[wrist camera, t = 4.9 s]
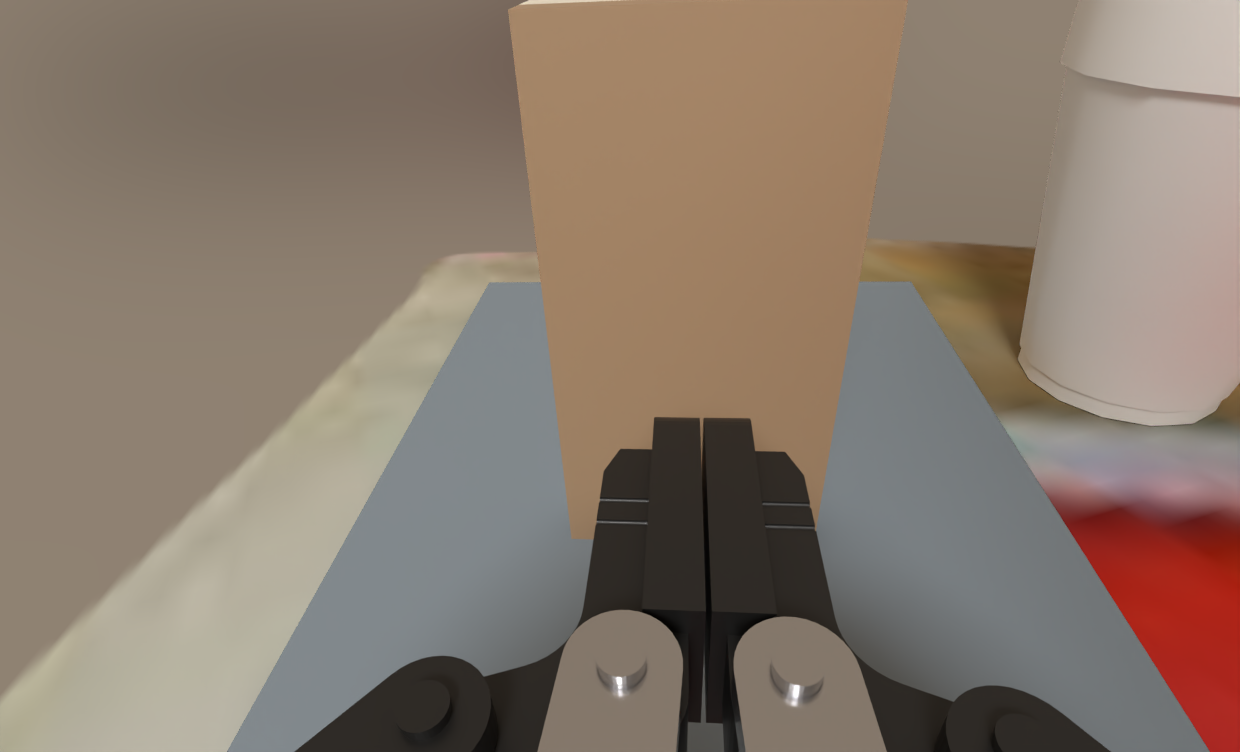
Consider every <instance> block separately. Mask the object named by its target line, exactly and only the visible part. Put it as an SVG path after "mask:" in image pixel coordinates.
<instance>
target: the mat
mask: <svg viewBox="0 0 1240 752" xmlns="http://www.w3.org/2000/svg"><path fill="white" fill-rule="evenodd" d="M816 532H817V537H818V541H819V546H820V551H821V555H822V560H823V564H824V569H825V574H826V578H827V583H828V587H829V592H830V597H831V601H832V606H833V610H834V615H835V619H836V622H837V625H838V628H839V630H840V632H841V634H842V636H843V638H844V640H845V641H846V642H847V644H848V645H849V647H850V648H851V649H852V650H853V651H854V653H855V654H856V655H857V656H858V657H859V658H860V659H862V660H863V661H864V662H865V663H866V664H867V665H869V666H870V667H871V668H873V669H874V670H876V671H877V672H879V673H880V674H882V675H884V676H886V677H888V678H889V679H892V680H894V681H897V682H899V683H901V684H904V685H907V686H910V687H913V688H916V689H919V690H921V691H924V692H927V693H930V694H933V695H936V696H939V697H942V698H944V699H947V700H950V701H953V702H954V701H955V700H956V699H957V698H958V696H960V695H961V694H963V693H964V692H966V691H967V690H970V689H973V688H975V687H980V686H986V685H998V686H1005V687H1011V688H1014V689H1018V690H1021V691H1024V692H1026V693H1029V694H1031V695H1034V696H1036V697H1038V698H1039V699H1041V700H1043V701H1045V702H1047V703H1048V704H1050V705H1051V706H1053V707H1054V708H1056V709H1057V710H1058V711H1060V712H1061V713H1063V714H1064V715H1065V716H1066V717H1068V718H1069V719H1070V720H1071V721H1073V722H1074V723H1075V724H1076V725H1078V726H1079V727H1080V728H1082V729H1083V730H1084V731H1085V732H1087V733H1088V734H1089V735H1090V736H1092V737H1093V738H1094V739H1095V740H1097V741H1098V742H1099V743H1101V744H1102V745H1103V746H1104V747H1106V748H1107V749H1108V750H1109V751H1111V752H1210V751H1209V750H1208V748H1207V746H1206V745H1205V743H1204V742H1203V740H1202V739H1201V737H1200V735H1199V734H1198V732H1197V731H1196V729H1195V728H1194V726H1193V724H1192V723H1191V721H1190V720H1189V718H1188V717H1187V715H1186V713H1185V712H1184V710H1183V709H1182V707H1181V706H1180V704H1179V702H1178V701H1177V699H1176V698H1175V696H1174V695H1173V693H1172V691H1171V690H1170V688H1169V687H1168V685H1167V684H1166V682H1165V680H1164V679H1163V677H1162V676H1161V674H1160V673H1159V671H1158V669H1157V668H1156V666H1155V665H1154V663H1153V662H1152V660H1151V658H1150V657H1149V655H1148V654H1147V652H1146V651H1145V649H1144V647H1143V646H1142V644H1141V643H1140V641H1139V640H1138V638H1137V636H1136V635H1135V633H1134V632H1133V630H1132V629H1131V627H1130V625H1129V624H1128V622H1127V621H1126V619H1125V618H1124V616H1123V614H1122V613H1121V611H1120V610H1119V608H1118V607H1117V605H1116V603H1115V602H1114V600H1113V599H1112V597H1111V596H1110V594H1109V592H1108V591H1107V589H1106V588H1105V586H1104V585H1103V583H1102V581H1101V580H1100V578H1099V577H1098V575H1097V574H1096V572H1095V570H1094V569H1093V567H1092V566H1091V564H1090V563H1089V561H1088V559H1087V558H1086V556H1085V555H1084V553H1083V552H1082V550H1081V548H1080V547H1079V545H1078V544H1077V542H1076V541H1075V539H1074V537H1073V536H1072V534H1071V533H1070V531H1069V530H1068V528H1067V526H1066V525H1065V523H1064V522H1063V520H1062V519H1061V517H1060V515H1059V514H1058V512H1057V511H1056V509H1055V508H1054V506H1053V504H1052V503H1051V501H1050V500H1049V498H1048V497H1047V495H1046V493H1045V492H1044V490H1043V489H1042V487H1041V486H1040V484H1039V482H1038V481H1037V479H1036V478H1035V476H1034V475H1033V473H1032V471H1031V470H1030V468H1029V467H1028V465H1027V463H1026V462H1025V460H1024V459H1023V457H1022V456H1021V454H1020V452H1019V451H1018V449H1017V448H1016V446H1015V445H1014V443H1013V441H1012V440H1011V438H1010V437H1009V435H1008V434H1007V432H1006V430H1005V429H1004V427H1003V426H1002V424H1001V423H1000V421H999V419H998V418H997V416H996V415H995V413H994V412H993V410H992V408H991V407H990V405H989V404H988V402H987V401H986V399H985V397H984V396H983V394H982V393H981V391H980V390H979V388H978V386H977V385H976V383H975V382H974V380H973V379H972V377H971V375H970V374H969V372H968V371H967V369H966V368H965V366H964V364H963V363H962V361H961V360H960V358H959V357H958V355H957V353H956V352H955V350H954V349H953V347H952V346H951V344H950V342H949V341H948V339H947V338H946V336H945V335H944V333H943V331H942V330H941V328H940V327H939V325H938V324H937V322H936V320H935V319H934V317H933V316H932V314H931V313H930V311H929V309H928V308H927V306H926V305H925V303H924V302H923V300H922V298H921V297H920V295H919V294H918V292H917V291H916V289H915V287H914V286H913V284H912V283H911V282H859V285H858V291H857V297H856V302H855V308H854V314H853V320H852V325H851V331H850V337H849V343H848V348H847V354H846V360H845V366H844V371H843V377H842V383H841V389H840V395H839V400H838V406H837V412H836V418H835V423H834V429H833V435H832V441H831V446H830V452H829V458H828V464H827V469H826V475H825V481H824V487H823V492H822V498H821V504H820V510H819V515H818V521H817V527H816ZM592 546H593V540H592V539H571V530H570V522H569V514H568V505H567V497H566V489H565V480H564V472H563V464H562V455H561V447H560V439H559V430H558V422H557V413H556V405H555V397H554V388H553V380H552V372H551V363H550V355H549V347H548V338H547V330H546V322H545V313H544V305H543V297H542V288H541V282H516V283H489V284H488V286H487V288H486V289H485V291H484V293H483V295H482V297H481V298H480V300H479V302H478V304H477V306H476V307H475V309H474V311H473V313H472V314H471V316H470V318H469V320H468V322H467V323H466V325H465V327H464V329H463V331H462V332H461V334H460V336H459V338H458V340H457V341H456V343H455V345H454V347H453V348H452V350H451V352H450V354H449V356H448V357H447V359H446V361H445V363H444V365H443V366H442V368H441V370H440V372H439V373H438V375H437V377H436V379H435V381H434V382H433V384H432V386H431V388H430V390H429V391H428V393H427V395H426V397H425V399H424V400H423V402H422V404H421V406H420V407H419V409H418V411H417V413H416V415H415V416H414V418H413V420H412V422H411V424H410V425H409V427H408V429H407V431H406V433H405V434H404V436H403V438H402V440H401V441H400V443H399V445H398V447H397V449H396V450H395V452H394V454H393V456H392V458H391V459H390V461H389V463H388V465H387V466H386V468H385V470H384V472H383V474H382V475H381V477H380V479H379V481H378V483H377V484H376V486H375V488H374V490H373V492H372V493H371V495H370V497H369V499H368V500H367V502H366V504H365V506H364V508H363V509H362V511H361V513H360V515H359V517H358V518H357V520H356V522H355V524H354V525H353V527H352V529H351V531H350V533H349V534H348V536H347V538H346V540H345V542H344V543H343V545H342V547H341V549H340V551H339V552H338V554H337V556H336V558H335V559H334V561H333V563H332V565H331V567H330V568H329V570H328V572H327V574H326V576H325V577H324V579H323V581H322V583H321V584H320V586H319V588H318V590H317V592H316V593H315V595H314V597H313V599H312V601H311V602H310V604H309V606H308V608H307V610H306V611H305V613H304V615H303V617H302V618H301V620H300V622H299V624H298V626H297V627H296V629H295V631H294V633H293V635H292V636H291V638H290V640H289V642H288V644H287V645H286V647H285V649H284V651H283V652H282V654H281V656H280V658H279V660H278V661H277V663H276V665H275V667H274V669H273V670H272V672H271V674H270V676H269V677H268V679H267V681H266V683H265V685H264V686H263V688H262V690H261V692H260V694H259V695H258V697H257V699H256V701H255V703H254V704H253V706H252V708H251V710H250V711H249V713H248V715H247V717H246V719H245V720H244V722H243V724H242V726H241V728H240V729H239V731H238V733H237V735H236V736H235V738H234V740H233V742H232V744H231V745H230V747H229V749H228V751H227V752H294V751H296V750H297V749H298V748H299V747H301V746H302V745H303V744H304V743H306V742H307V741H308V740H310V739H311V738H312V737H313V736H315V735H316V734H317V733H318V732H320V731H321V730H322V729H323V728H325V727H326V726H327V725H328V724H330V723H331V722H332V721H333V720H335V719H336V718H337V717H338V716H340V715H341V714H342V713H343V712H345V711H346V710H347V709H349V708H350V707H351V706H352V705H354V704H355V703H356V702H357V701H359V700H360V699H361V698H362V697H364V696H365V695H366V694H367V693H369V692H370V691H371V690H372V689H374V688H375V687H376V686H377V685H379V684H380V683H381V682H382V681H384V680H385V679H386V678H387V677H389V676H390V675H391V674H393V673H394V672H396V671H397V670H398V669H400V668H402V667H403V666H405V665H407V664H409V663H411V662H414V661H416V660H419V659H422V658H427V657H431V656H452V657H456V658H460V659H463V660H465V661H467V662H469V663H471V664H472V665H473V666H474V667H476V668H477V669H478V670H479V671H480V673H481V674H482V675H483V676H484V677H485V676H488V675H492V674H496V673H499V672H503V671H507V670H510V669H514V668H518V667H522V666H525V665H528V664H531V663H534V662H537V661H539V660H541V659H543V658H545V657H547V656H548V655H550V654H551V653H553V652H554V651H556V650H557V649H558V648H559V647H560V646H562V645H563V644H564V643H565V642H566V641H567V639H568V638H569V637H570V636H571V635H572V633H573V632H574V630H575V629H576V627H577V625H578V623H579V620H580V618H581V615H582V611H583V606H584V599H585V593H586V586H587V579H588V573H589V566H590V559H591V553H592ZM687 752H724V740H723V724H718V723H706V706H705V668H704V664H703V686H702V708H701V723H694V722H688V739H687Z"/></svg>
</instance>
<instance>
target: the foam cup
mask: <svg viewBox="0 0 1240 752" xmlns="http://www.w3.org/2000/svg"><path fill="white" fill-rule="evenodd" d="M1060 63H1061V64H1063V65H1065V66H1066V71H1065V77H1064V83H1063V89H1062V96H1061V101H1060V107H1059V113H1058V119H1057V125H1056V131H1055V137H1054V143H1053V149H1052V154H1051V160H1050V167H1049V172H1048V178H1047V184H1046V190H1045V196H1044V202H1043V208H1042V214H1041V220H1040V226H1039V232H1038V237H1037V244H1036V249H1035V255H1034V261H1033V267H1032V273H1031V279H1030V285H1029V291H1028V297H1027V303H1026V308H1025V314H1024V320H1023V326H1022V332H1021V338H1020V344H1019V345H1020V347H1021V350H1020V353H1019V356H1018V361H1019V363H1020V365H1021V366H1022V368H1023V370H1024V372H1025V374H1026V375H1027V377H1028V379H1029V380H1031V381H1032V382H1033V383H1035V384H1036V385H1038V386H1039V387H1041V388H1042V389H1043V390H1045V391H1046V392H1048V393H1049V394H1051V395H1052V396H1053V397H1055V398H1056V399H1058V400H1060V401H1062V402H1065V403H1067V404H1070V405H1072V406H1075V407H1078V408H1080V409H1083V410H1085V411H1088V412H1090V413H1093V414H1095V415H1098V416H1100V417H1104V418H1109V419H1115V420H1120V421H1126V422H1131V423H1137V424H1142V425H1148V426H1162V425H1180V424H1193V423H1195V422H1197V421H1199V420H1200V419H1202V418H1204V417H1206V416H1208V415H1209V414H1211V413H1213V412H1215V411H1216V410H1217V408H1218V406H1219V404H1220V403H1221V401H1222V400H1223V399H1225V398H1227V397H1228V396H1229V395H1230V394H1231V393H1232V392H1233V390H1234V389H1235V388H1236V387H1237V386H1238V384H1239V383H1240V0H1078V3H1077V6H1076V10H1075V13H1074V17H1073V20H1072V23H1071V26H1070V30H1069V33H1068V37H1067V40H1066V43H1065V47H1064V50H1063V54H1062V57H1061V60H1060Z"/></svg>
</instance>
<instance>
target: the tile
mask: <svg viewBox="0 0 1240 752" xmlns="http://www.w3.org/2000/svg"><path fill="white" fill-rule="evenodd" d="M907 3H908V0H529V1H526V2H524V3H522V4H520V5H517V6H515V7H513V8H511V9H509V10H508V13H509V21H510V29H511V38H512V46H513V54H514V63H515V70H516V79H517V88H518V96H519V104H520V113H521V121H522V129H523V137H524V146H525V154H526V163H527V171H528V180H529V188H530V196H531V204H532V212H533V221H534V229H535V238H536V246H537V255H538V263H539V271H540V280H541V288H542V297H543V305H544V313H545V322H546V330H547V338H548V347H549V355H550V363H551V372H552V380H553V388H554V397H555V405H556V413H557V422H558V430H559V439H560V447H561V455H562V464H563V472H564V480H565V489H566V497H567V505H568V514H569V522H570V530H571V539H592V540H593V539H594V533H595V526H596V523H597V512H598V506H599V502H600V492H601V486H602V479H603V472H604V470H605V469H606V467H607V466H608V465H609V463H610V462H611V461H612V459H613V458H614V457H615V455H616V454H617V453H618V451H619V450H620V449H652V441H653V426H654V417H686V418H700V435H701V468H702V441H703V419H704V418H750V419H751V424H752V431H753V438H754V446H755V451H776V452H786V453H787V455H788V456H789V457H790V458H791V460H792V461H793V462H794V463H795V465H796V466H797V467H798V468H799V470H800V471H801V472H802V473H803V475H804V477H805V482H806V486H807V491H808V496H809V500H810V508H811V509H812V514H813V518H814V523H815V531H816V527H817V521H818V515H819V510H820V504H821V498H822V492H823V487H824V481H825V475H826V469H827V464H828V458H829V452H830V446H831V441H832V435H833V429H834V423H835V418H836V412H837V406H838V400H839V395H840V389H841V383H842V377H843V371H844V366H845V360H846V354H847V348H848V343H849V337H850V331H851V325H852V320H853V314H854V308H855V302H856V297H857V291H858V285H859V279H860V274H861V268H862V262H863V256H864V251H865V245H866V239H867V233H868V227H869V221H870V216H871V210H872V204H873V198H874V193H875V187H876V181H877V175H878V169H879V164H880V158H881V152H882V147H883V141H884V135H885V129H886V124H887V118H888V112H889V107H890V101H891V95H892V89H893V84H894V77H895V72H896V66H897V60H898V55H899V49H900V43H901V37H902V32H903V26H904V20H905V15H906V8H907Z"/></svg>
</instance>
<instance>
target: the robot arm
mask: <svg viewBox="0 0 1240 752" xmlns="http://www.w3.org/2000/svg"><path fill="white" fill-rule="evenodd" d="M703 664H704V668H705V706H706V723H718V724H723V740H724V752H1111V751H1109V750H1108V749H1107V748H1106V747H1104V746H1103V745H1102V744H1101V743H1099V742H1098V741H1097V740H1095V739H1094V738H1093V737H1092V736H1090V735H1089V734H1088V733H1087V732H1085V731H1084V730H1083V729H1082V728H1080V727H1079V726H1078V725H1076V724H1075V723H1074V722H1073V721H1071V720H1070V719H1069V718H1068V717H1066V716H1065V715H1064V714H1063V713H1061V712H1060V711H1058V710H1057V709H1056V708H1054V707H1053V706H1051V705H1050V704H1048V703H1047V702H1045V701H1043V700H1041V699H1039V698H1038V697H1036V696H1034V695H1031V694H1029V693H1026V692H1024V691H1021V690H1018V689H1014V688H1011V687H1005V686H998V685H986V686H980V687H975V688H973V689H970V690H967V691H966V692H964V693H963V694H961V695H960V696H958V698H957V699H956V700H955V701H954V702H953V701H950V700H947V699H944V698H942V697H939V696H936V695H933V694H930V693H927V692H924V691H921V690H919V689H916V688H913V687H910V686H907V685H904V684H901V683H899V682H897V681H894V680H892V679H889V678H888V677H886V676H884V675H882V674H880V673H879V672H877V671H876V670H874V669H873V668H871V667H870V666H869V665H867V664H866V663H865V662H864V661H863V660H862V659H860V658H859V657H858V656H857V655H856V654H855V653H854V651H853V650H852V649H851V648H850V647H849V645H848V644H847V642H846V641H845V640H844V638H843V636H842V634H841V632H840V630H839V628H838V625H837V622H836V619H835V615H834V610H833V606H832V601H831V597H830V592H829V587H828V583H827V578H826V574H825V569H824V564H823V560H822V555H821V551H820V546H819V541H818V537H817V532H816V531H815V523H814V518H813V514H812V509H811V508H810V500H809V496H808V491H807V486H806V482H805V477H804V475H803V473H802V472H801V471H800V470H799V468H798V467H797V466H796V465H795V463H794V462H793V461H792V460H791V458H790V457H789V456H788V455H787V453H786V452H776V451H755V446H754V438H753V431H752V424H751V419H750V418H704V419H703V441H702V468H701V435H700V418H686V417H654V426H653V441H652V449H620V450H619V451H618V453H617V454H616V455H615V457H614V458H613V459H612V461H611V462H610V463H609V465H608V466H607V467H606V469H605V470H604V472H603V479H602V486H601V492H600V502H599V506H598V512H597V523H596V526H595V533H594V539H593V546H592V553H591V559H590V566H589V573H588V579H587V586H586V593H585V599H584V606H583V611H582V615H581V618H580V620H579V623H578V625H577V627H576V629H575V630H574V632H573V633H572V635H571V636H570V637H569V638H568V639H567V641H566V642H565V643H564V644H563V645H562V646H560V647H559V648H558V649H557V650H556V651H554V652H553V653H551V654H550V655H548V656H547V657H545V658H543V659H541V660H539V661H537V662H534V663H531V664H528V665H525V666H522V667H518V668H514V669H510V670H507V671H503V672H499V673H496V674H492V675H488V676H485V677H484V676H483V675H482V674H481V673H480V671H479V670H478V669H477V668H476V667H474V666H473V665H472V664H471V663H469V662H467V661H465V660H463V659H460V658H456V657H452V656H431V657H427V658H422V659H419V660H416V661H414V662H411V663H409V664H407V665H405V666H403V667H402V668H400V669H398V670H397V671H396V672H394V673H393V674H391V675H390V676H389V677H387V678H386V679H385V680H384V681H382V682H381V683H380V684H379V685H377V686H376V687H375V688H374V689H372V690H371V691H370V692H369V693H367V694H366V695H365V696H364V697H362V698H361V699H360V700H359V701H357V702H356V703H355V704H354V705H352V706H351V707H350V708H349V709H347V710H346V711H345V712H343V713H342V714H341V715H340V716H338V717H337V718H336V719H335V720H333V721H332V722H331V723H330V724H328V725H327V726H326V727H325V728H323V729H322V730H321V731H320V732H318V733H317V734H316V735H315V736H313V737H312V738H311V739H310V740H308V741H307V742H306V743H304V744H303V745H302V746H301V747H299V748H298V749H297V750H296V751H294V752H687V739H688V722H694V723H701V708H702V686H703Z"/></svg>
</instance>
